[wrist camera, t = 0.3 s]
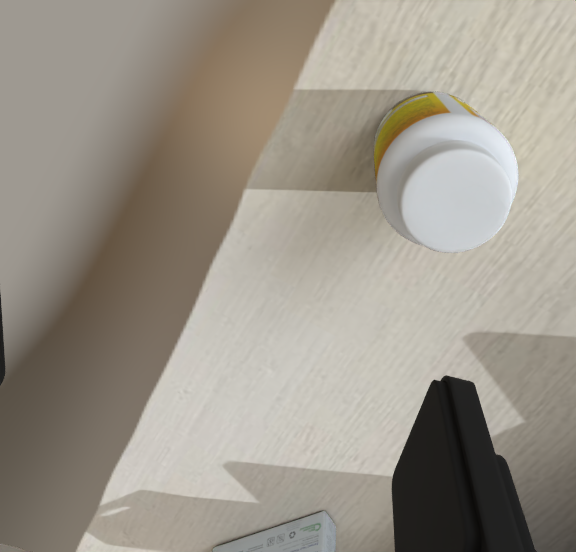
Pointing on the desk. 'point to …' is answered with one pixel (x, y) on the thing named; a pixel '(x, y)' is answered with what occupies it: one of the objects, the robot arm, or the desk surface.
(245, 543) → the ink box
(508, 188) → the supplement bottle
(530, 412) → the desk surface
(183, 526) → the desk surface
